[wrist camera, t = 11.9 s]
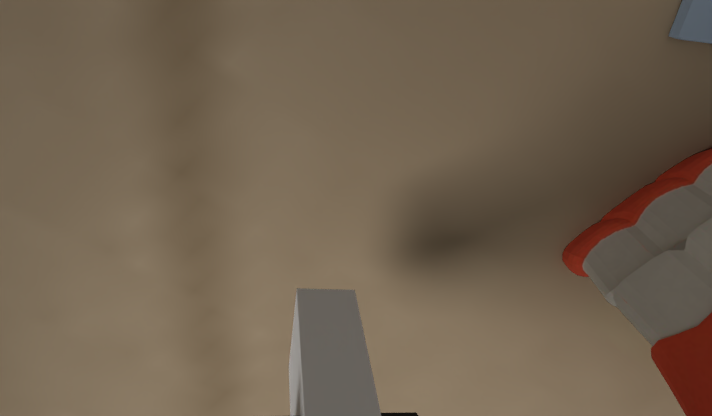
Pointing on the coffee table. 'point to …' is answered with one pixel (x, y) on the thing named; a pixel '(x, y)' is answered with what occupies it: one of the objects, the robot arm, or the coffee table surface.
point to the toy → (661, 273)
